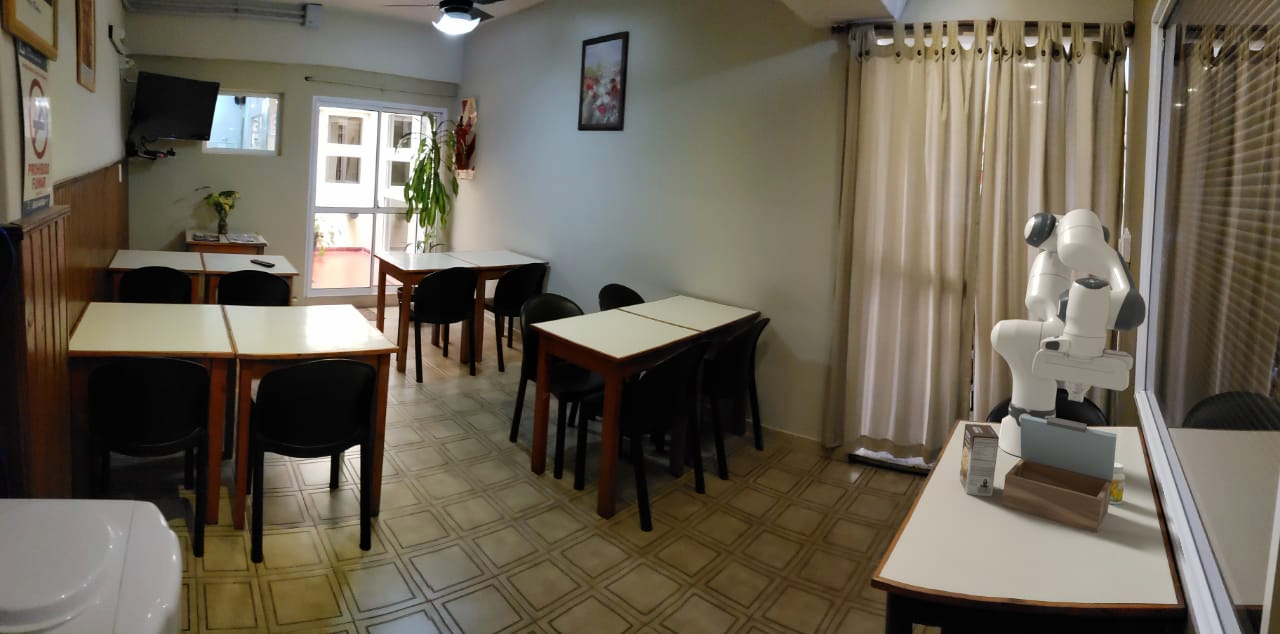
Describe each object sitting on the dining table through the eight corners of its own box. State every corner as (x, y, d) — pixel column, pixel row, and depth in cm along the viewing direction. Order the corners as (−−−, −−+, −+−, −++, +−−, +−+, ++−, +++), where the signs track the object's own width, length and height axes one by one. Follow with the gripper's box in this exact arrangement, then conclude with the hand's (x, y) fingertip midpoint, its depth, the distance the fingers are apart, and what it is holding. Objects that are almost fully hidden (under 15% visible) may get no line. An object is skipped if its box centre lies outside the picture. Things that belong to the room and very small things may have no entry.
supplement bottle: (1126, 502, 177) (1131, 466, 175) (1112, 506, 175) (1118, 469, 173) (1104, 493, 182) (1109, 458, 180) (1091, 497, 180) (1096, 461, 178)
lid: (1020, 460, 183) (1022, 455, 184) (1111, 482, 170) (1113, 477, 171) (1019, 415, 175) (1021, 410, 177) (1115, 435, 162) (1116, 430, 163)
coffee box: (958, 479, 189) (964, 422, 186) (983, 482, 188) (990, 424, 185) (966, 494, 180) (972, 434, 177) (993, 497, 179) (1000, 437, 176)
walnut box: (1017, 487, 185) (1021, 458, 183) (1107, 511, 172) (1112, 481, 170) (1001, 505, 174) (1005, 474, 173) (1096, 532, 161) (1101, 500, 160)
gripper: (1136, 350, 167) (1128, 406, 170) (1040, 337, 181) (1033, 389, 183) (1132, 355, 163) (1123, 412, 165) (1033, 341, 176) (1027, 394, 179)
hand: (1075, 400), depth 174 cm, fingers closed
